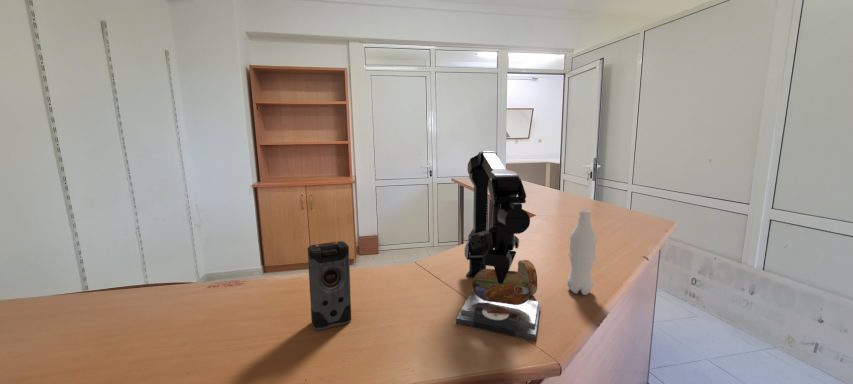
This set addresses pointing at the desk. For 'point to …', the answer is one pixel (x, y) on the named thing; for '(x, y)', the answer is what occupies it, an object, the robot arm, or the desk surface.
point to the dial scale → (501, 317)
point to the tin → (502, 287)
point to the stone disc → (528, 273)
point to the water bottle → (582, 254)
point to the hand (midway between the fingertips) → (501, 281)
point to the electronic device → (329, 284)
